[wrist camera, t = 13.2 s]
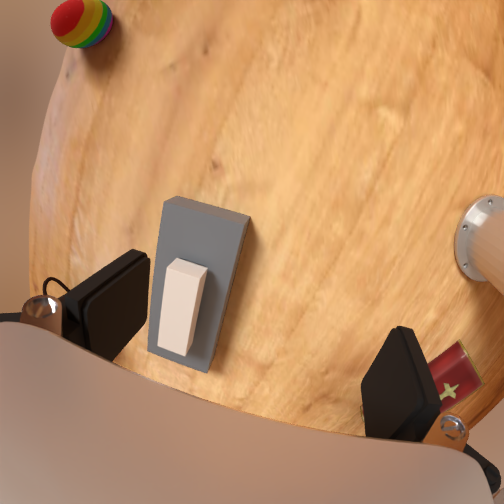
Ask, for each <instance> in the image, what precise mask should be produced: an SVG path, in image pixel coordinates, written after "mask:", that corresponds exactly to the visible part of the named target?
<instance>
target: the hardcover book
mask: <svg viewBox="0 0 504 504" xmlns="http://www.w3.org/2000/svg"><path fill="white" fill-rule="evenodd" d="M428 367H429V369H430V372H431V374H432V377H433V380H434V382H435V385H436V388H437V390H438V393H439V396H440V399H441V401H442V404H443V405H442V406H441V408H440V412H441V413H443V412H447V411H448V410H450V409H451V408H453V407H454V406H456V405H457V404H459V403H460V402H461V401H463V400H464V399H466V398H467V397H468V396H470V395H471V394H473V393H474V392H475V391H477V390H478V389H479V388H481V387H482V386H483V385H484V384H485V383H484V382H483V380H482V378H481V376H480V374H479V372H478V370H477V368H476V367H475V365H474V363H473V361H472V359H471V358H470V356H469V354H468V352H467V351H466V349H465V347H464V346H463V344H462V343H461V341H460V339H459V340H458V341H457V342H456V343H455V344H453V345H452V346H451V347H449V348H448V349H447V350H446V351H444V352H443V353H442V354H440V355H439V356H438V357H436V358H435V359H434V360H432V361H431V362H430V363H428ZM360 410H361V417H362V420H363V422H364V412H363V405H362V406H360Z"/></svg>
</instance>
